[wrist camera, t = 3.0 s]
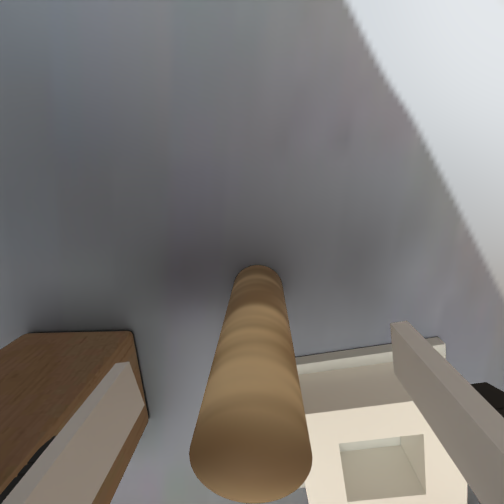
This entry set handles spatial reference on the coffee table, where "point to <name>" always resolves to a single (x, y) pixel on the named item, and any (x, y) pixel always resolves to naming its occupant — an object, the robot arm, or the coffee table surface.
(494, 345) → the coffee table surface
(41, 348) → the wooden block
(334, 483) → the socket
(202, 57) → the coffee table surface
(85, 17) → the coffee table surface
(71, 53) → the coffee table surface
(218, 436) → the peg
